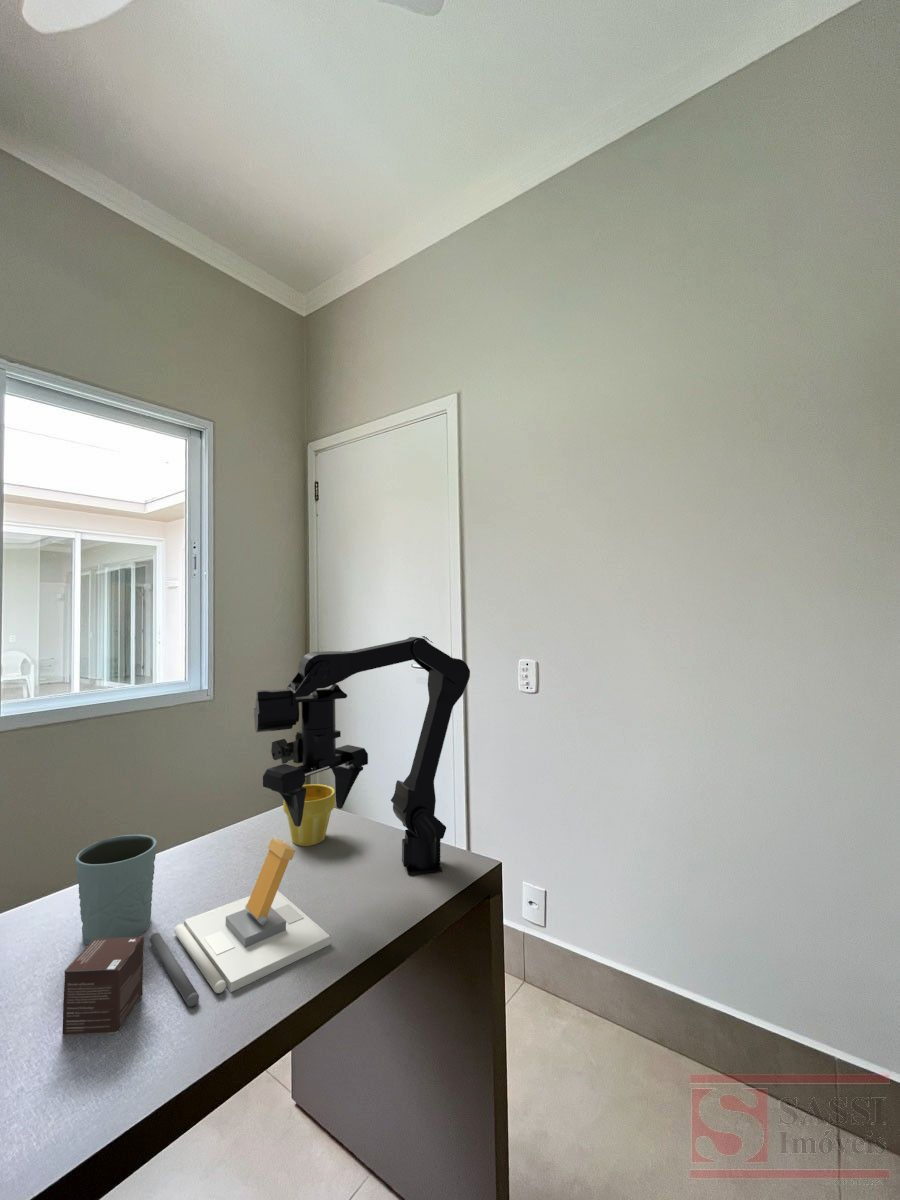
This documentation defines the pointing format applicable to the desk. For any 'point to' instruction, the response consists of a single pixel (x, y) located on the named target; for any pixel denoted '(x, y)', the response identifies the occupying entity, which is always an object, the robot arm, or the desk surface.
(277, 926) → the breaker panel
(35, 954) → the desk surface
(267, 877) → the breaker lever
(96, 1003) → the box
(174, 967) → the rods
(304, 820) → the plant pot
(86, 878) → the grey-green cup
